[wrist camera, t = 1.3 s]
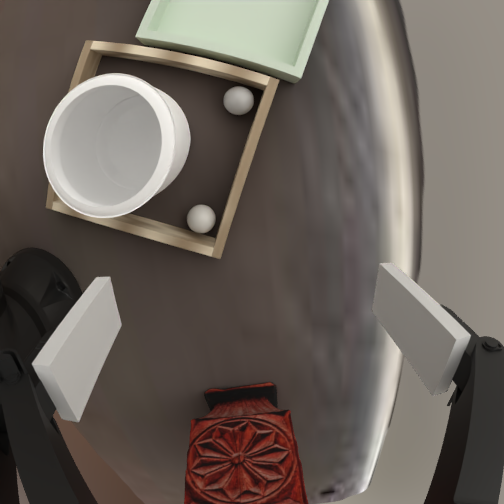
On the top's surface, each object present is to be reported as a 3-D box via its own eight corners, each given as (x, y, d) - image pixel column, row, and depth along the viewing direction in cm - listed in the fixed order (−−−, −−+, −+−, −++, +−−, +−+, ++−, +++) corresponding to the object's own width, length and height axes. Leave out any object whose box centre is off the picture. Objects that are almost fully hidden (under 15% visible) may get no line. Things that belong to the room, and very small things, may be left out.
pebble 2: (220, 111, 32) (218, 108, 29) (229, 85, 31) (228, 80, 28) (247, 119, 32) (249, 117, 29) (256, 93, 31) (259, 89, 28)
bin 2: (59, 201, 34) (45, 207, 30) (98, 47, 27) (86, 40, 24) (221, 247, 37) (220, 258, 34) (275, 85, 31) (279, 79, 28)
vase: (211, 432, 50) (209, 580, 22) (194, 382, 45) (177, 567, 17) (287, 424, 50) (314, 573, 22) (283, 373, 45) (320, 560, 17)
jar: (185, 84, 30) (152, 48, 16) (211, 169, 34) (195, 191, 20) (101, 118, 31) (28, 113, 17) (127, 198, 34) (67, 238, 20)
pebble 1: (186, 224, 36) (181, 232, 33) (193, 198, 35) (189, 204, 32) (212, 231, 36) (210, 240, 33) (219, 206, 35) (218, 212, 32)
